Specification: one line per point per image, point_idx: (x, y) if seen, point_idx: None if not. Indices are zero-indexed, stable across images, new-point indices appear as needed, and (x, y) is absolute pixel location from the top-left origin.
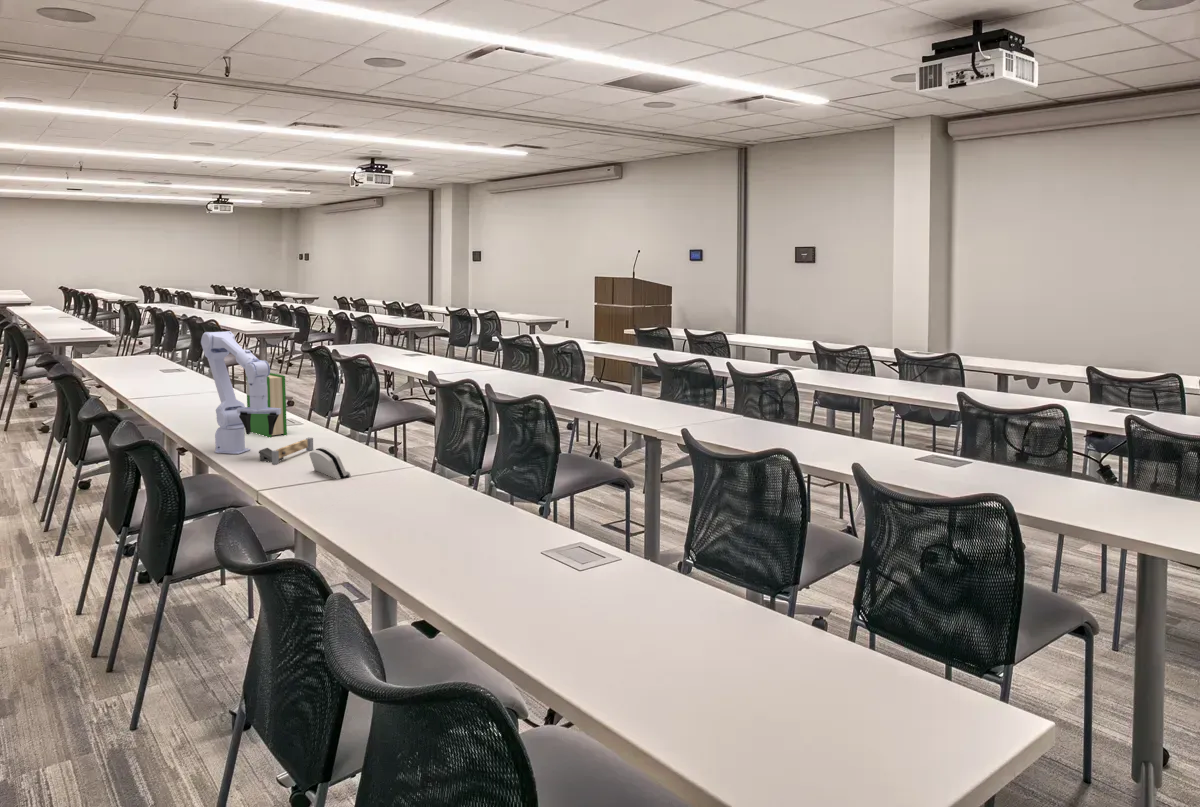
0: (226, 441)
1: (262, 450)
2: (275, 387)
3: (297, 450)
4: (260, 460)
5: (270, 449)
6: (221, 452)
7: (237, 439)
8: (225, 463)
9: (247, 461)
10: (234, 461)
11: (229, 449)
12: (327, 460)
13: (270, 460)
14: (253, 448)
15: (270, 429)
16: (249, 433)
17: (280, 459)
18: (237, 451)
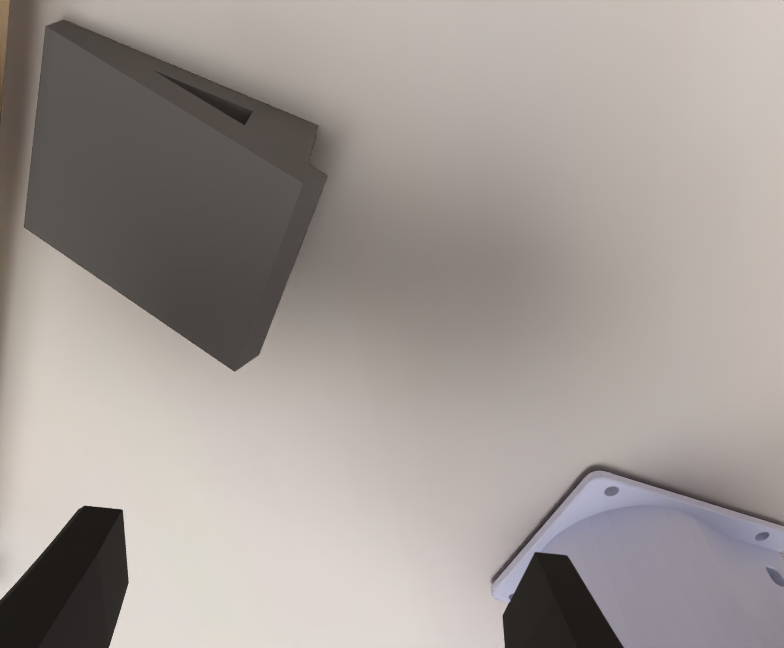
0: (745, 612)
1: (265, 223)
2: None
3: None
4: (306, 126)
5: (190, 340)
6: (738, 515)
7: (639, 633)
8: (773, 44)
9: (481, 145)
10: (644, 163)
11: (682, 529)
12: None
13: (144, 61)
14: (470, 627)
15: (9, 605)
16: (520, 591)
17: (40, 151)
18: (601, 516)
